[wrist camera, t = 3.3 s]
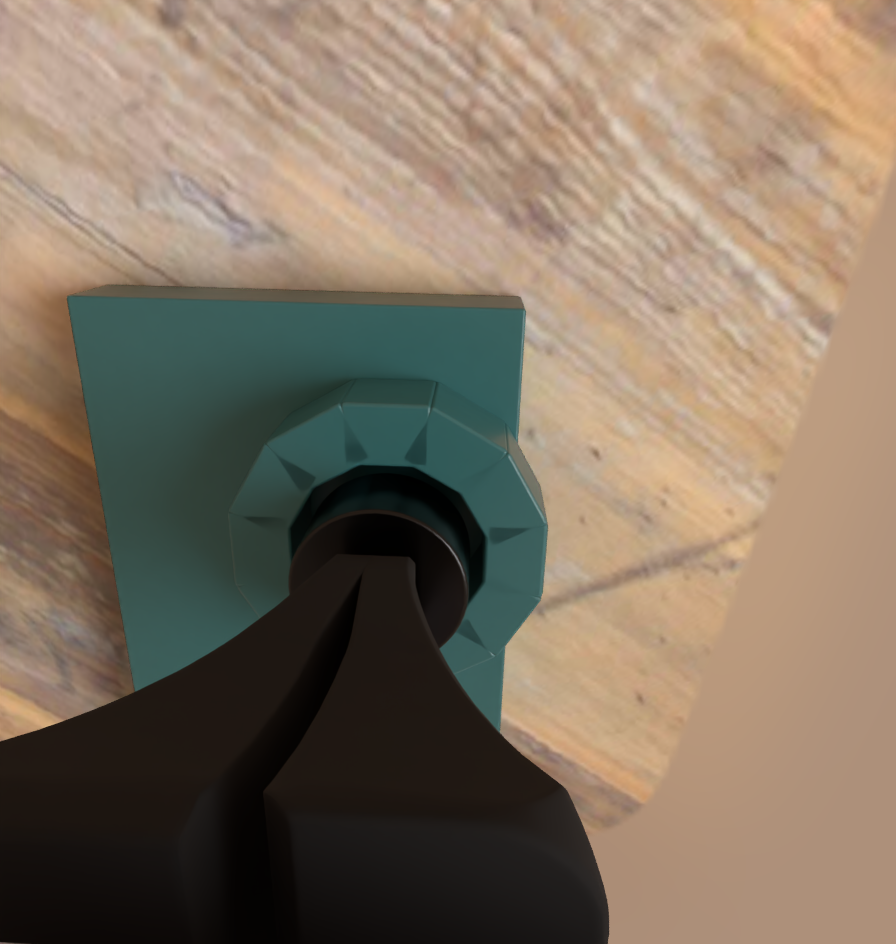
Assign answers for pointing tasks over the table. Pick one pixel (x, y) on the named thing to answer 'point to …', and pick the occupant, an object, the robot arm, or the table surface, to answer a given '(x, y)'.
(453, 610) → the button
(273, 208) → the table surface
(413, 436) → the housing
